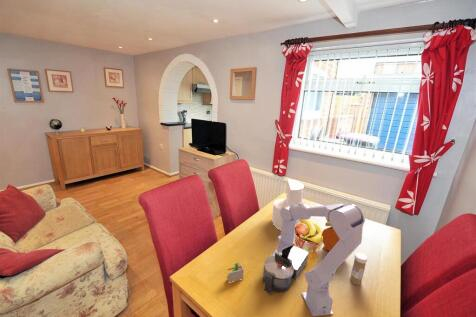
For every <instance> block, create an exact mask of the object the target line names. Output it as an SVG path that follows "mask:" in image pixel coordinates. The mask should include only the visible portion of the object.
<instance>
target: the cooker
mask: <svg viewBox="0 0 476 317" xmlns="http://www.w3.org/2000/svg"><path fill="white" fill-rule="evenodd" d="M276 252H277V248H276V249H275V250H274V252H272V253H271V255H270V256H274V255H275V253H276ZM277 253H279V252H277ZM279 254H281V255H282V253H279ZM288 258H289V259H291V260H293V261H292V264H293V266H294V273H293V275H292V276H291V277H290V278H287V279H277V278H274V277H275V274H273V273H271V272H269V271H268V272H267V271H266V270H265V266H264V265H263V273H262V274H263V275H262V281H263V284H264V283H265V284H264V287H263V288H264V290H263V291H264V292H265V291H266V292H265V293H267V294H269V295H270V296H271V295H272V294H273V292H274V293H279V294H280V293H282V294H283V293H285V292H287V291H289V290H290V288H291V286H292V285H291V284H292V280H293V281H294V282H297V279H298V278H299V276H300V275H301V273H302V272H303V270H304V269H305V266H306V265H307V264H308V259H309V252H308V251H306V250H303V249H301V248H299V247H297V246H295V245H294V246H293V247H292V249H291V251H290V253H289V256H288Z"/></svg>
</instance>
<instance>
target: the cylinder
mask: <svg viewBox="0 0 476 317" xmlns="http://www.w3.org/2000/svg"><path fill="white" fill-rule="evenodd" d="M286 185H287V186H286V197H285V198H279V199H276V200H274V201H273V206H272V219H271V223H272V222H273V224H274V225H275V226H276V227H277V228H279V229H281V227H282V218H281V215H280V210H281V209H282V208H283V207H287V206H290V205H292V204H294V205H298V204H300V203H303V198H304V197H303V196H304V195H303V194H304V188H305V185H304V184H303V183H302V182H300V181H297V180H294V179H289V178H288V179H287V184H286ZM300 221H301V220H300ZM300 221H299V220H297V221H296V224H295V225H297V224H298V223H299V224H300Z"/></svg>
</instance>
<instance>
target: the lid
mask: <svg viewBox="0 0 476 317" xmlns="http://www.w3.org/2000/svg"><path fill="white" fill-rule="evenodd" d="M292 261H293V260H291V259H289V258H287V257H285V256H283V255H281V254H279V253H277V252H276V253H275V255H274V256H271V255H270V256H268V257H267V258H266V259H265V261H264V265H263V267H264V266H265V270H266V271H267V272H268V271H269V272H271V273H273V274H275V277H274V278H277V279H287V278H290V277H291V276H292V275H293V273H294V266H293V264H292Z"/></svg>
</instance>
